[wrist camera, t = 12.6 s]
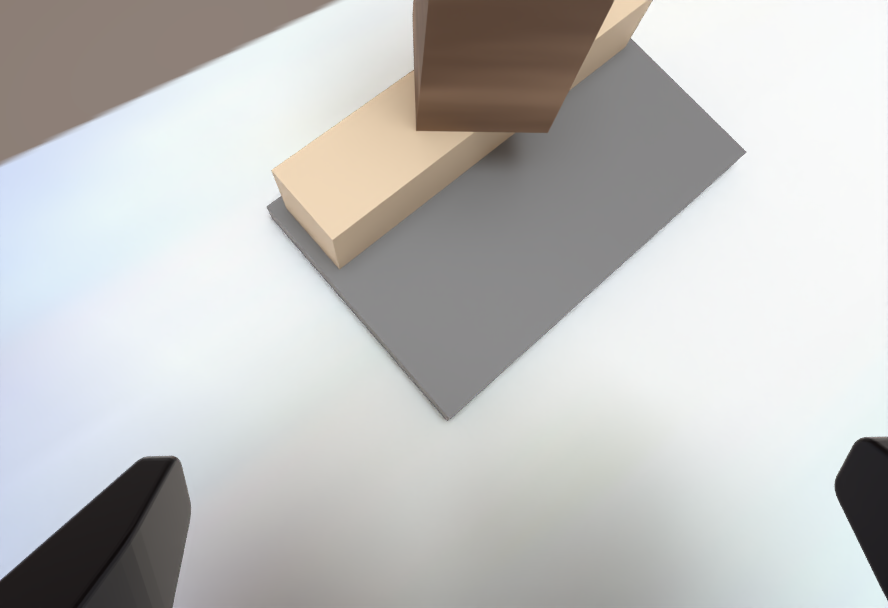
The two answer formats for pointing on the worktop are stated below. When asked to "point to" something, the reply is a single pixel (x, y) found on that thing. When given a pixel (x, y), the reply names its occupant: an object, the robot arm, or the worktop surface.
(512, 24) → the post
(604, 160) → the stand
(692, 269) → the worktop surface
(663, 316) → the worktop surface
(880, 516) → the robot arm
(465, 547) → the worktop surface
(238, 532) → the worktop surface
